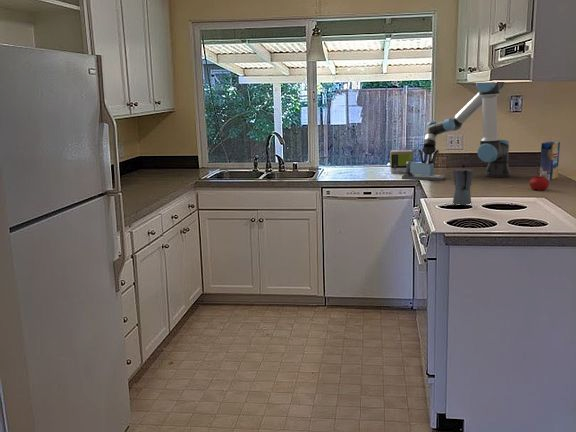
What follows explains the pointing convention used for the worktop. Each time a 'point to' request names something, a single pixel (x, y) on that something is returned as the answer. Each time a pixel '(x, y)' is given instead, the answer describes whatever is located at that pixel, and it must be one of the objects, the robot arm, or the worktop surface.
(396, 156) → the tea box
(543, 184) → the pomegranate
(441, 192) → the worktop surface
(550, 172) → the beverage box
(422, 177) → the plate
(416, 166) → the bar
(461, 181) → the moka pot
